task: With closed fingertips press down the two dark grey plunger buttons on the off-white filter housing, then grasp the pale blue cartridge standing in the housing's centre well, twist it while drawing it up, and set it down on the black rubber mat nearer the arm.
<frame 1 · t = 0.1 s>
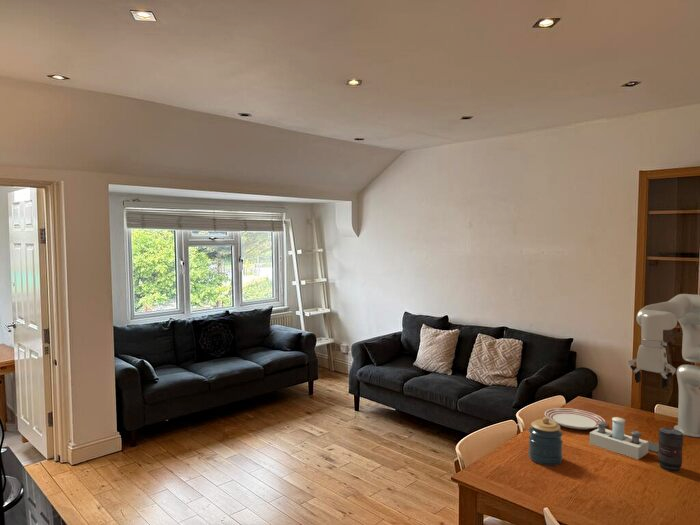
hand: (651, 384, 198), 31 cm above the table, fingers open, 9 cm apart
camera lens: (670, 468, 192), on the table
dinner plate: (574, 423, 240), on the table
plunger b: (635, 439, 204), point 6 cm above the table, slide at 0.0 cm
cartridge: (618, 433, 210), in the housing
mat: (649, 446, 211), on the table
plunger a: (601, 429, 216), point 6 cm above the table, slide at 0.0 cm
housing: (618, 448, 210), on the table
canister: (545, 459, 201), on the table
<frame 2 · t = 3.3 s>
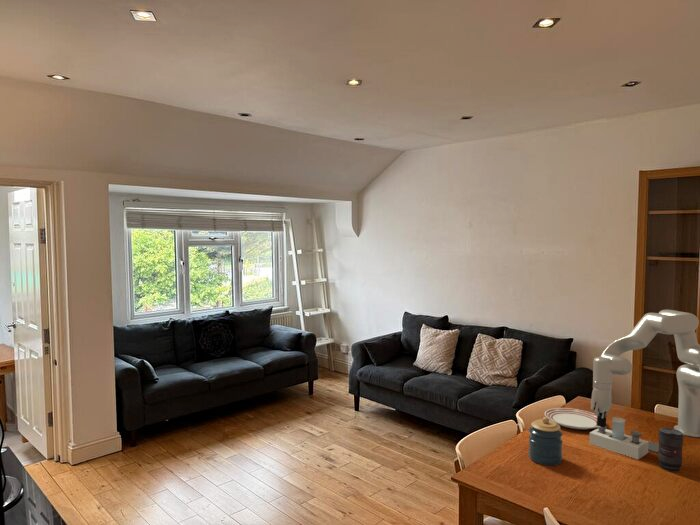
hand: (601, 425, 215), 8 cm above the table, fingers closed
plunger a: (601, 432, 216), point 5 cm above the table, slide at 1.5 cm, touching gripper
everything else where it was.
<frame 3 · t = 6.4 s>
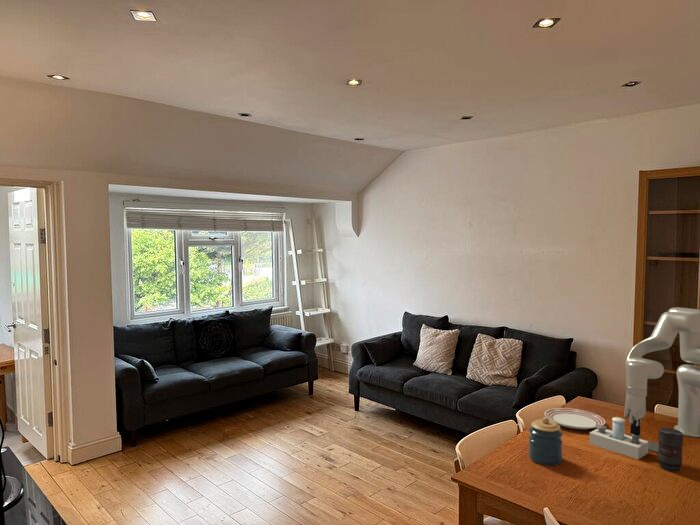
hand: (635, 434, 204), 9 cm above the table, fingers closed
plunger b: (635, 440, 204), point 6 cm above the table, slide at 0.7 cm, touching gripper
plunger a: (601, 433, 216), point 4 cm above the table, slide at 1.8 cm
everything else where it was.
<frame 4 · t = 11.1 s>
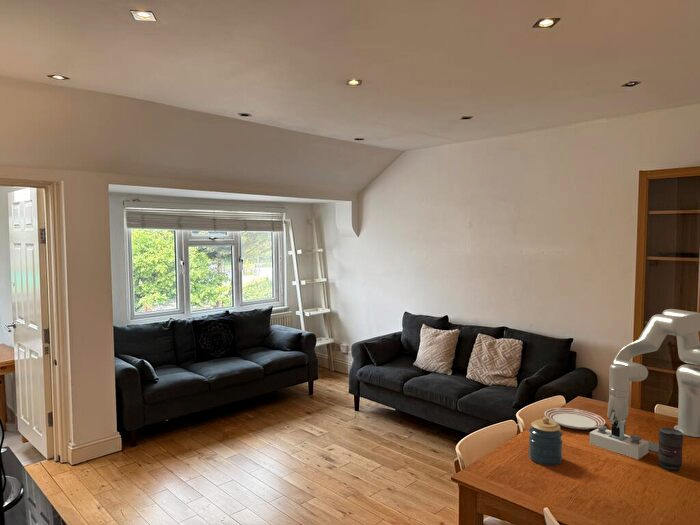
hand: (618, 433, 210), 6 cm above the table, fingers closed on cartridge, 4 cm apart
plunger b: (635, 443, 204), point 4 cm above the table, slide at 1.8 cm
cartridge: (618, 433, 210), in the housing, touching gripper
everything else where it was.
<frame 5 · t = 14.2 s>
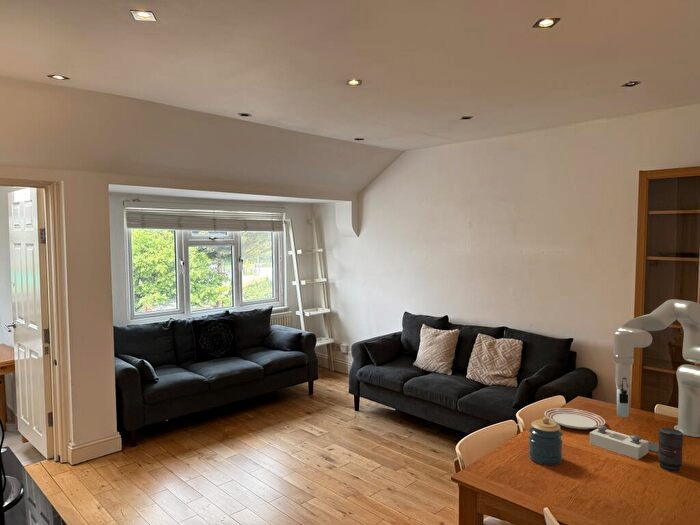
hand: (623, 400, 209), 21 cm above the table, fingers closed on cartridge, 4 cm apart
cartridge: (622, 400, 209), point 21 cm above the table, touching gripper
everything else where it was.
when the fingers open (8 cm above the table, at t = 17.6 s): cartridge drops 1 cm, resting on mat.
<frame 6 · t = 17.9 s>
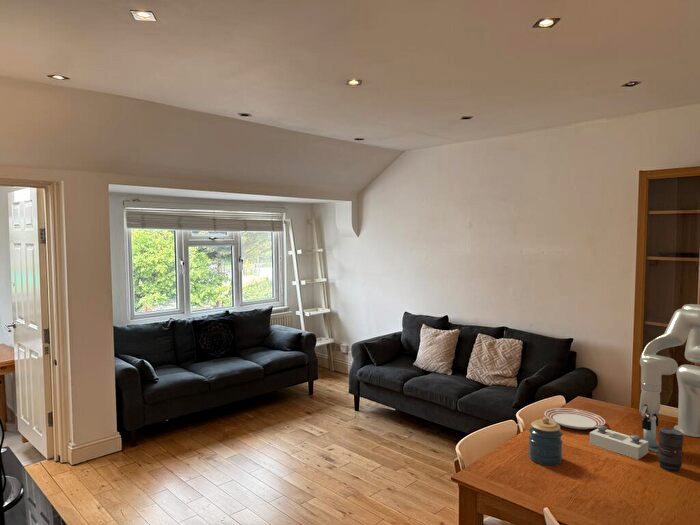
hand: (650, 427, 211), 9 cm above the table, fingers open, 7 cm apart
cartridge: (649, 430, 211), on the mat, point 7 cm above the table
everything else where it was.
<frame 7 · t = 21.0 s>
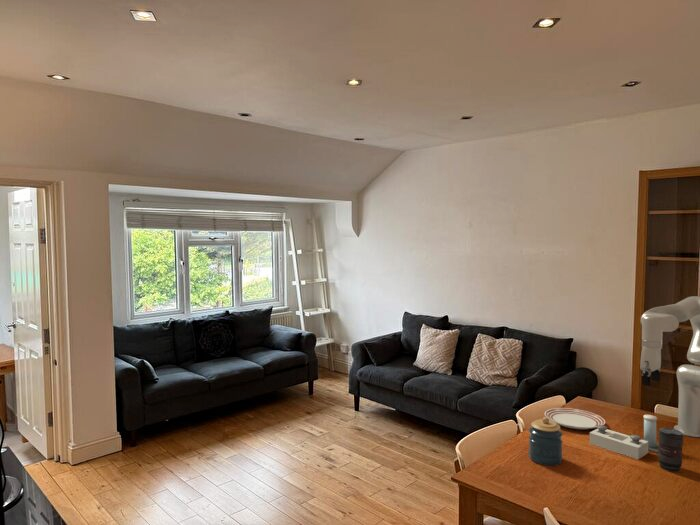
hand: (651, 383, 210), 28 cm above the table, fingers open, 9 cm apart
nothing on the table moved.
at the end: cartridge inside the target area on the mat (0.1 cm from its centre), point 7.0 cm above the mat's base; plunger a slide at 1.8 cm; plunger b slide at 1.8 cm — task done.
